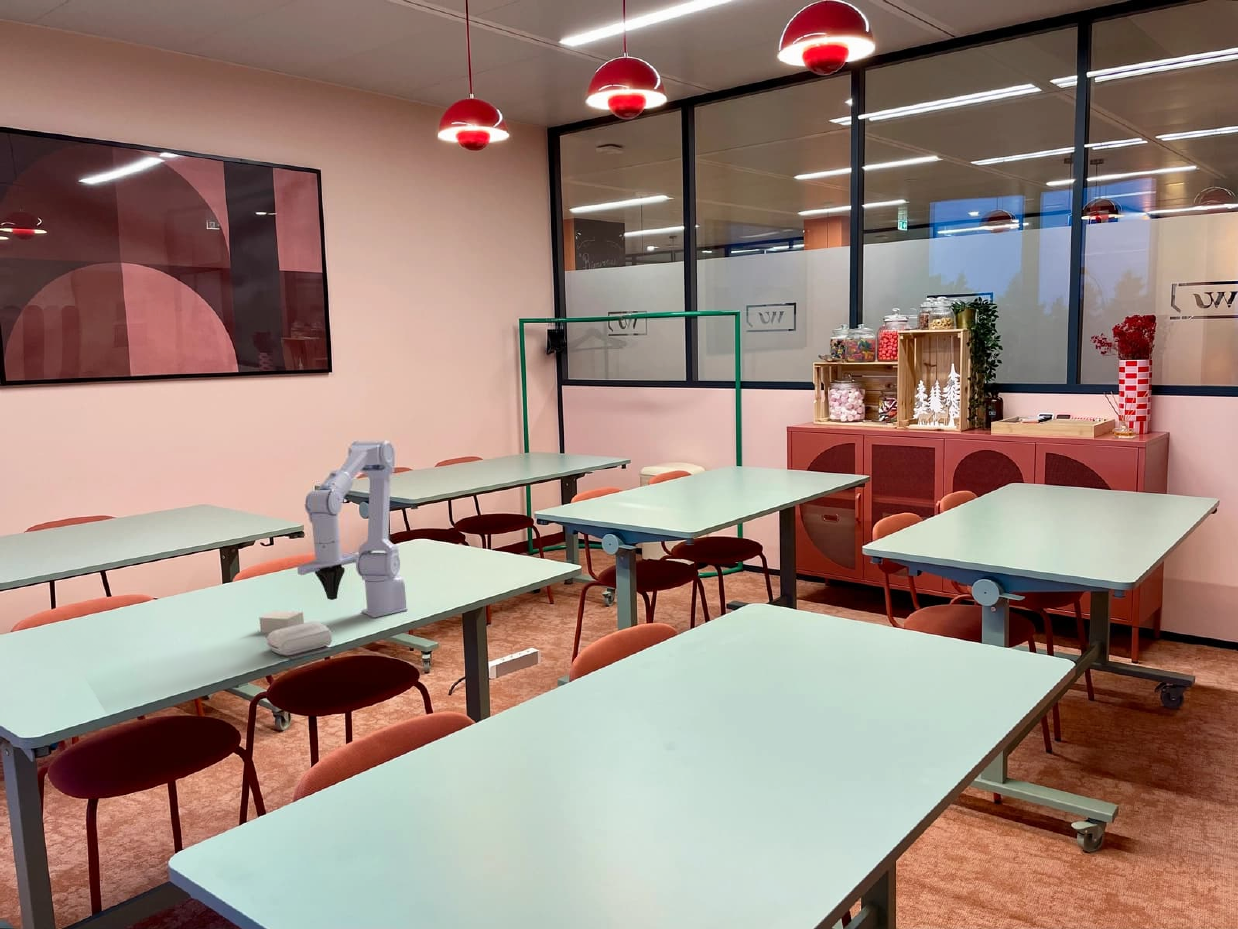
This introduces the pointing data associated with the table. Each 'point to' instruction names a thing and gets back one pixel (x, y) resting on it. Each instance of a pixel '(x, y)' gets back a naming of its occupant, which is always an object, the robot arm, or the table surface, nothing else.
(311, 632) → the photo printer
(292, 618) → the card box
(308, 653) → the mat
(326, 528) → the robot arm
